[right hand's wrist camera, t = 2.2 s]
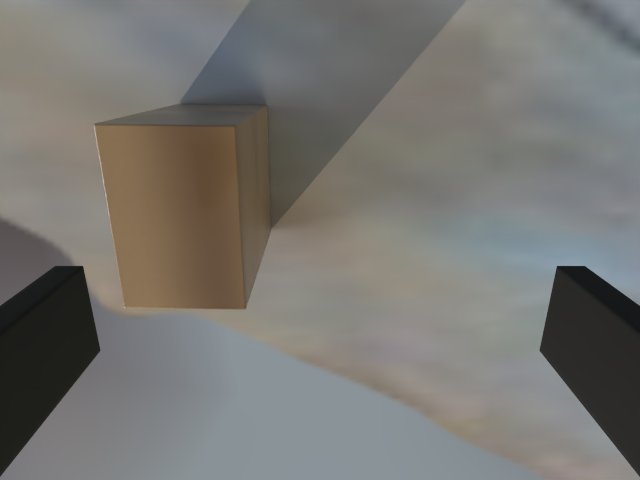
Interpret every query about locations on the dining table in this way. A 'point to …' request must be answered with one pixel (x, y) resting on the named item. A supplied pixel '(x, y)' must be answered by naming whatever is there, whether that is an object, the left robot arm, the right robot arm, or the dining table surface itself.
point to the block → (187, 203)
